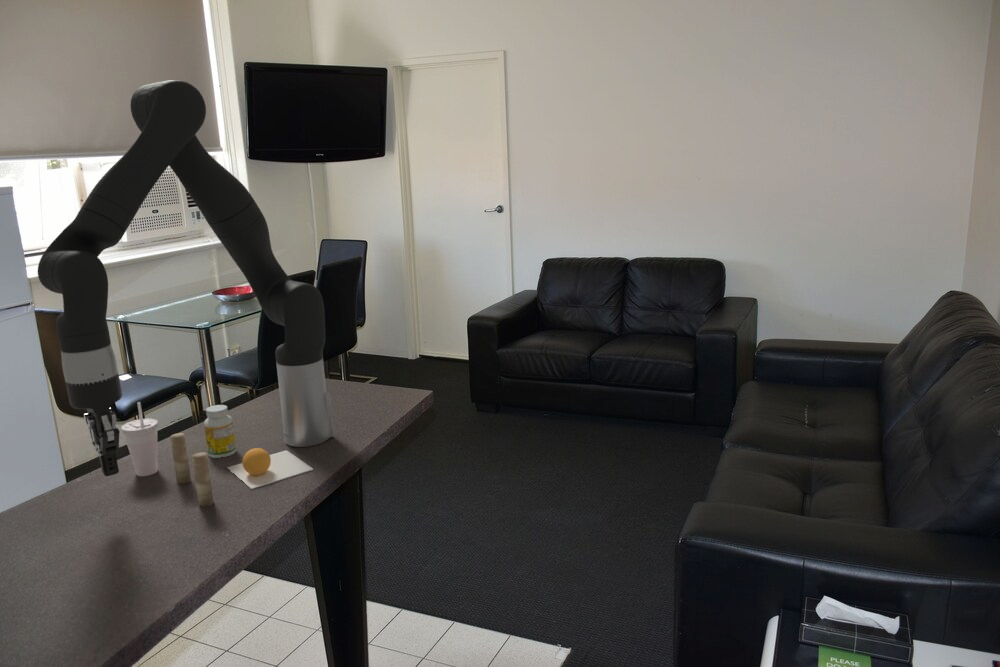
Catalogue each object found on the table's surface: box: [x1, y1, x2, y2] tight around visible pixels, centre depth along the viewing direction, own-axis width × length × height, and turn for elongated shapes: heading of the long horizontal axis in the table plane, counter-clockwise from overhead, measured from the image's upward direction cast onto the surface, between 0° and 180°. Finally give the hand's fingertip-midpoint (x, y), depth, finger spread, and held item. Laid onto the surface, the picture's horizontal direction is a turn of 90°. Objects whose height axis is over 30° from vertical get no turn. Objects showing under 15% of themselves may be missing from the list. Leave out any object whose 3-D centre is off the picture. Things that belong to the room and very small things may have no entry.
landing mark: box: [226, 450, 314, 490], centre depth 142 cm, size 12×12×1 cm
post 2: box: [191, 451, 215, 508], centre depth 128 cm, size 2×2×9 cm
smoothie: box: [120, 401, 160, 477], centre depth 141 cm, size 6×6×14 cm
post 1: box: [169, 432, 192, 485], centre depth 137 cm, size 2×2×9 cm
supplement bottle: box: [203, 404, 237, 459], centre depth 149 cm, size 5×5×10 cm
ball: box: [242, 447, 271, 475], centre depth 140 cm, size 5×5×5 cm
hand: (110, 473), depth 124 cm, fingers closed
